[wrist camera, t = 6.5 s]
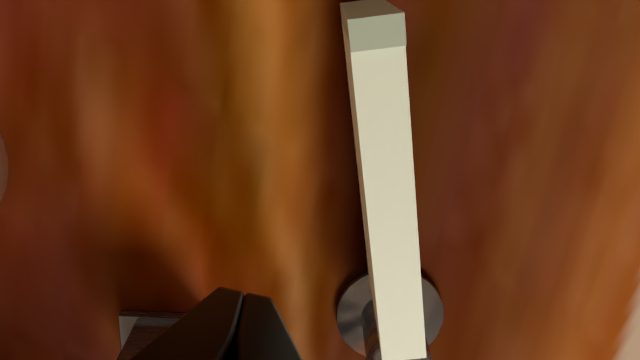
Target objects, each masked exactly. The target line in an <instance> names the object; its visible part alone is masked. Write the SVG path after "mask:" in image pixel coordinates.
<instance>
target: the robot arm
mask: <svg viewBox="0 0 640 360" xmlns="http://www.w3.org/2000/svg"><path fill="white" fill-rule="evenodd" d="M243 299H244V300H243ZM242 304H243V305H242ZM241 308H242V309H241ZM239 317H240V318H239ZM231 352H232V353H231ZM128 360H302V358H301V356H300V354H299V352H298V350H297V348H296V346H295V344H294V342H293V340H292V338H291V336H290V334H289V332H288V330H287V328H286V326H285V324H284V322H283V320H282V318H281V316H280V315H279V313H278V311H277V309H276V307H275V305H274V303H273V301H272V299H271V298H270V297H267V296H262V295H257V294H252V293H247V294H246V295H245V297H244V294H243V292H241V291H238V290H233V289H229V288H224V287H219V288H217V289H216V290H215V291H213V292H212V293H211V294H210V295H208V296H207V297H206V298H205V299H203V300H202V301H201V302H200V303H198V304H197V305H196V306H195V307H193V308H192V309H191V310H190V311H188V312H187V313H186V314H185V315H183V316H182V317H181V318H180V319H178V320H177V321H176V322H175V323H173V324H172V325H171V326H170V327H168V328H167V329H166V330H165V331H163V332H162V333H161V334H160V335H158V336H157V337H156V338H155V339H153V340H152V341H151V342H150V343H148V344H147V345H146V346H145V347H143V348H142V349H141V350H140V351H138V352H137V353H136V354H134V355H133V356H132V357H131V358H129V359H128Z"/></svg>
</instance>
